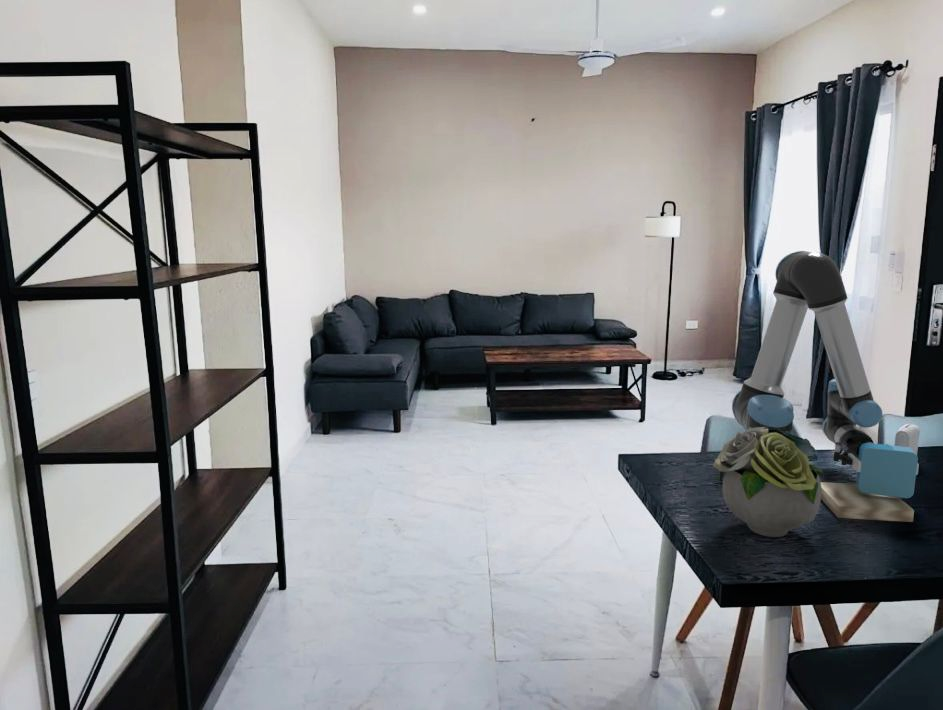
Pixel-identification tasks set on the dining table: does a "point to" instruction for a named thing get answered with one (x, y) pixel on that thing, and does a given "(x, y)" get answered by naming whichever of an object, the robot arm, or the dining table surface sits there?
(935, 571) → the dining table surface
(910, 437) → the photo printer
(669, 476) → the dining table surface
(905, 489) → the data package
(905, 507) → the birch board
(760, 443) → the flower arrangement
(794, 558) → the dining table surface
